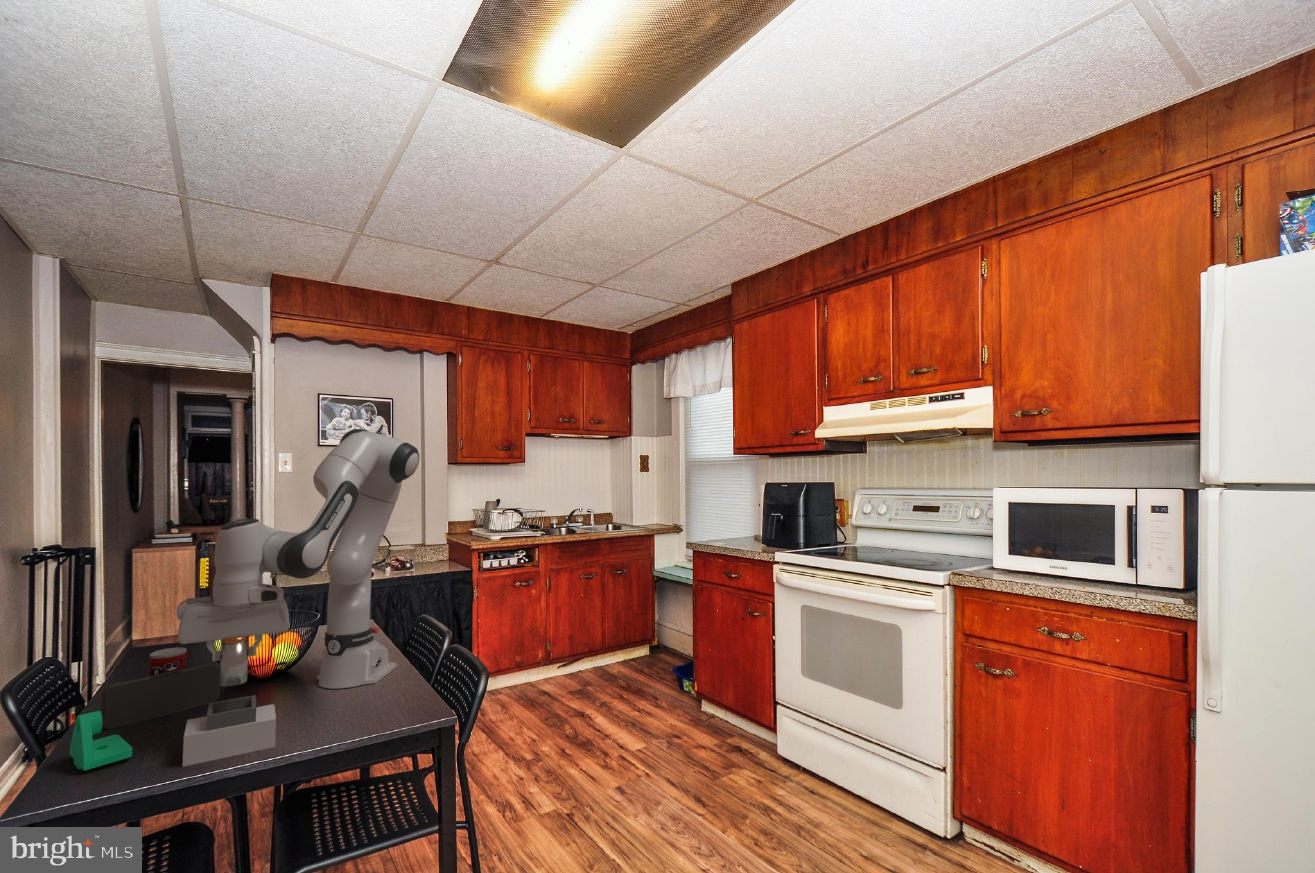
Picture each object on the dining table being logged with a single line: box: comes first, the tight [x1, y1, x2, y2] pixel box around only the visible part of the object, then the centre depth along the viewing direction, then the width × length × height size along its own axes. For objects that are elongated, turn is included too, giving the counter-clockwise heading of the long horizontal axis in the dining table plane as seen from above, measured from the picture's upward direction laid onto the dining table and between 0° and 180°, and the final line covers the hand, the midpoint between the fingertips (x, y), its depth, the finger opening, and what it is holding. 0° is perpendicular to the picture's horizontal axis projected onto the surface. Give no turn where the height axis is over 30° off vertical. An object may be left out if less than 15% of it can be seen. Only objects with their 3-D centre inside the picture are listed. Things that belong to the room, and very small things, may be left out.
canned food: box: [148, 647, 187, 676], centre depth 166 cm, size 8×8×11 cm
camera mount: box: [69, 710, 133, 772], centre depth 128 cm, size 12×8×10 cm, turn 54°
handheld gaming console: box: [101, 662, 220, 730], centre depth 152 cm, size 23×3×10 cm, turn 143°
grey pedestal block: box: [182, 694, 277, 768], centre depth 134 cm, size 16×10×9 cm, turn 124°
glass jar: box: [219, 636, 250, 687], centre depth 134 cm, size 5×5×10 cm
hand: (234, 657), depth 135 cm, fingers closed on glass jar, 5 cm apart
